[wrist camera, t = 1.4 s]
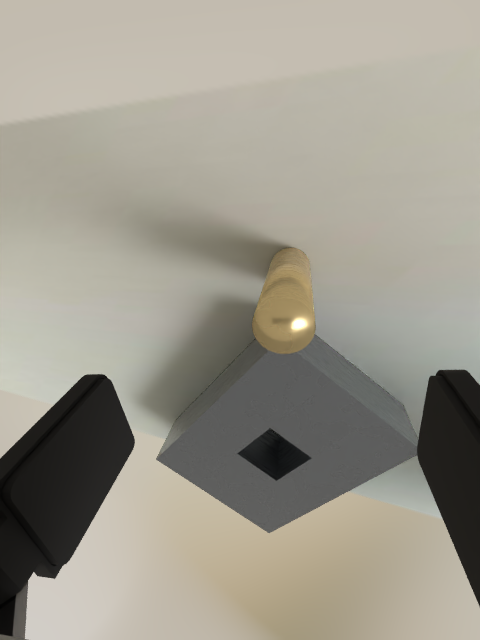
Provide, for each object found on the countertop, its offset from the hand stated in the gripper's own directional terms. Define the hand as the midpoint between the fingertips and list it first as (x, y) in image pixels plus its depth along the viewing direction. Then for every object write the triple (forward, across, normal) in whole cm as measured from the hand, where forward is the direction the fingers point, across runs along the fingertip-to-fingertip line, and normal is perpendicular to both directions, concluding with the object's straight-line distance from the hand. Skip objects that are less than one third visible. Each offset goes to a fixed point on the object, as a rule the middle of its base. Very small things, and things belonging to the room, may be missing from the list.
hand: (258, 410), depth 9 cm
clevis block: (+16, +1, +15) cm, 22 cm away
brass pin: (+16, -1, 0) cm, 16 cm away
